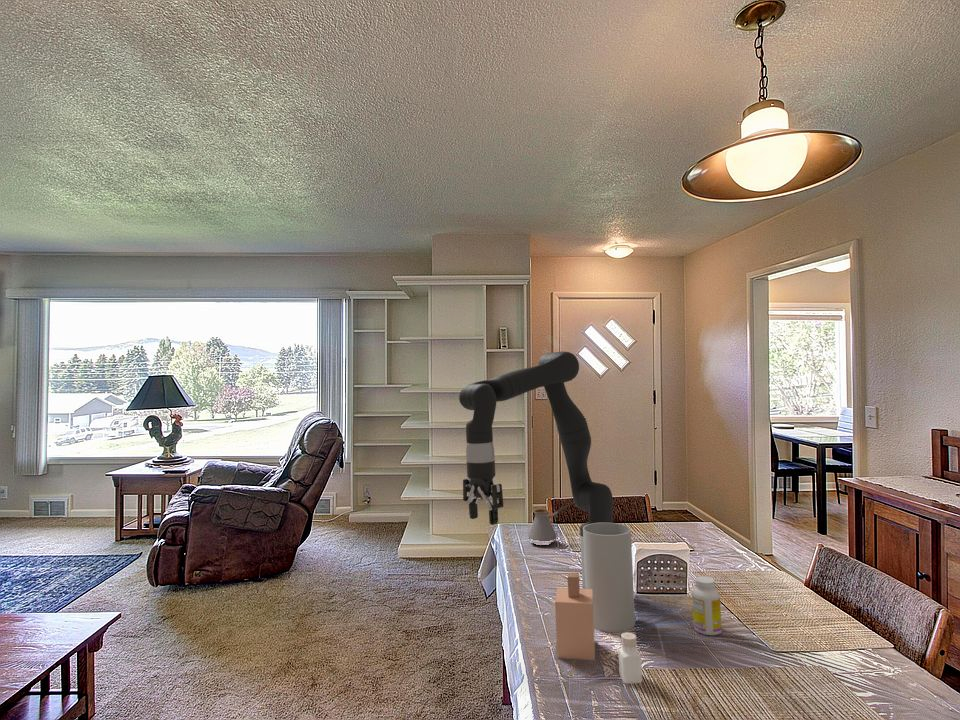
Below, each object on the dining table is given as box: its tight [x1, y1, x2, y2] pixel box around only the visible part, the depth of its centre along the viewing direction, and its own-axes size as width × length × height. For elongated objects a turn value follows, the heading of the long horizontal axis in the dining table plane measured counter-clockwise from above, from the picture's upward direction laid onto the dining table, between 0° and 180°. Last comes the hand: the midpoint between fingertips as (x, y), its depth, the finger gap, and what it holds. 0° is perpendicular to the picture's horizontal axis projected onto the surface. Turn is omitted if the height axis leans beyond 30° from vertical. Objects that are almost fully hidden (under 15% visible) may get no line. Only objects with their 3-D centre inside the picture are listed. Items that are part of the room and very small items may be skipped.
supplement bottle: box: [691, 575, 723, 636], centre depth 136 cm, size 7×7×13 cm
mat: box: [553, 640, 599, 663], centre depth 127 cm, size 10×10×1 cm
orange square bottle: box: [554, 572, 596, 660], centre depth 127 cm, size 9×9×18 cm
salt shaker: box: [618, 631, 643, 685], centre depth 114 cm, size 4×4×10 cm
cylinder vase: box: [583, 522, 636, 633], centre depth 142 cm, size 12×12×25 cm
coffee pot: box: [527, 501, 575, 541], centre depth 215 cm, size 21×12×15 cm, turn 108°
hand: (483, 521), depth 139 cm, fingers open, 8 cm apart
